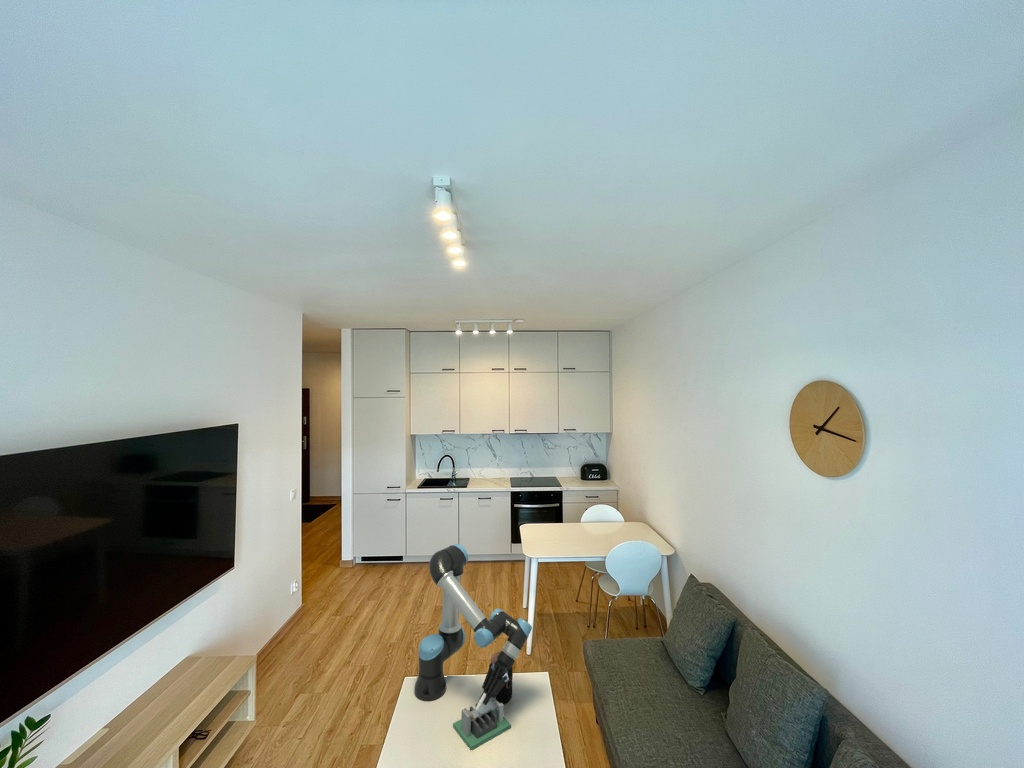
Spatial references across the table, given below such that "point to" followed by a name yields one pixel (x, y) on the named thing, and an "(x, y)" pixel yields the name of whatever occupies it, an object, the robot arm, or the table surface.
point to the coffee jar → (506, 691)
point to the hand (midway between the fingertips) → (478, 710)
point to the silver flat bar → (487, 708)
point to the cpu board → (481, 726)
